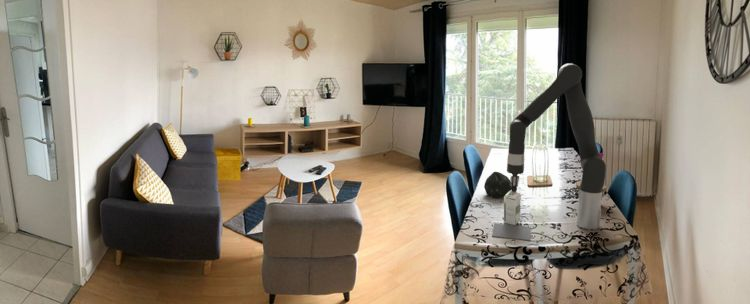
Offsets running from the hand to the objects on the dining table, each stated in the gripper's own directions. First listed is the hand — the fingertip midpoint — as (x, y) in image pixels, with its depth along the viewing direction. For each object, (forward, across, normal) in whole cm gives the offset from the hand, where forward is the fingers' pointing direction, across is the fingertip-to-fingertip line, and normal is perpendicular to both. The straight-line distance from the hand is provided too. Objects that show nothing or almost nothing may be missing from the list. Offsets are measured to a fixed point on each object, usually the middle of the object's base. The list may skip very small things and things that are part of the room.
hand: (513, 197), depth 221 cm
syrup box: (+11, -4, 0) cm, 11 cm away
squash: (+11, +34, +9) cm, 37 cm away
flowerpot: (+11, +34, -37) cm, 52 cm away
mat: (+11, -15, 0) cm, 19 cm away
